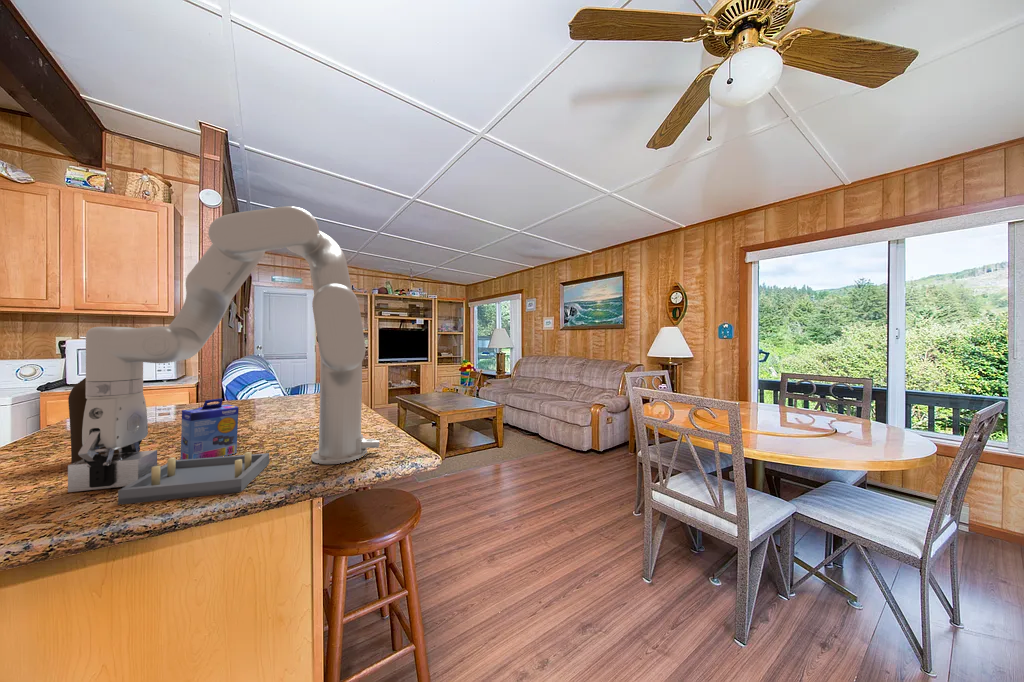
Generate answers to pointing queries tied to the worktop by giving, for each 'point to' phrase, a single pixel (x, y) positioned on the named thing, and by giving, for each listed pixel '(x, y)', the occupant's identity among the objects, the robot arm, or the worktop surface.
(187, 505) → the worktop surface
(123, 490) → the pin tray
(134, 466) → the grey rectangular block
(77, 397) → the olive oil
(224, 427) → the ink cartridge box
